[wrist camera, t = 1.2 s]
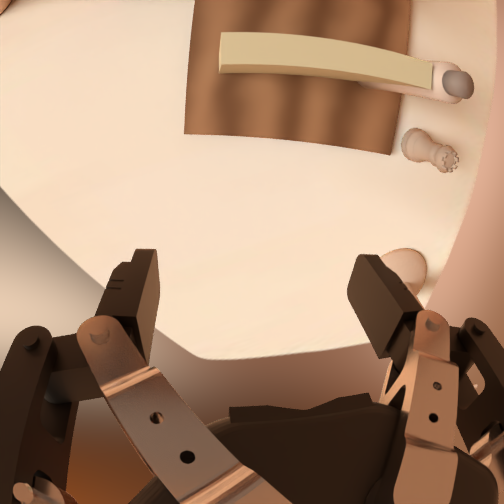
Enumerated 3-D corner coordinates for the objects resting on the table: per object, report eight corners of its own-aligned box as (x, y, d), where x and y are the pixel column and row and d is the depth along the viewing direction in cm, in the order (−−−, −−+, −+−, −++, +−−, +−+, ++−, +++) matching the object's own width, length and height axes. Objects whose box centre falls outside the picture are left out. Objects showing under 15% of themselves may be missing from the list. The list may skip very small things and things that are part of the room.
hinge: (380, 64, 27) (480, 70, 14) (379, 90, 28) (477, 111, 15) (218, 49, 25) (221, 17, 12) (218, 79, 27) (221, 73, 13)
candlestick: (417, 302, 49) (500, 436, 24) (354, 319, 49) (426, 480, 23) (430, 241, 42) (550, 385, 17) (360, 256, 42) (472, 443, 16)
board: (185, 132, 30) (184, 134, 29) (210, -83, 16) (210, -88, 15) (385, 152, 34) (390, 155, 33) (405, -39, 20) (410, -41, 19)
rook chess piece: (426, 128, 32) (466, 143, 26) (424, 160, 35) (461, 180, 28) (400, 126, 32) (438, 141, 25) (398, 159, 35) (434, 180, 28)
